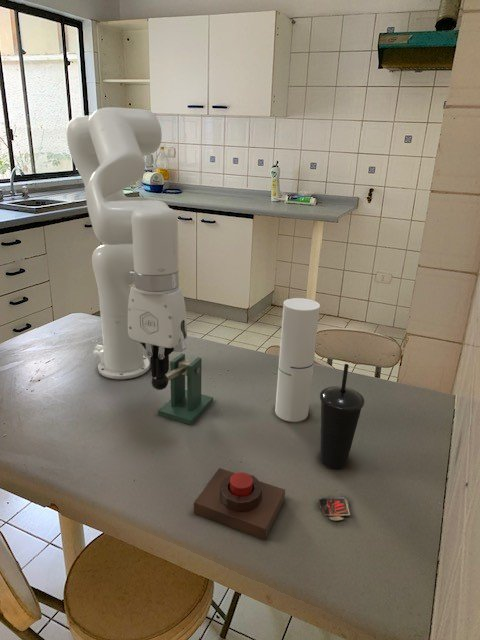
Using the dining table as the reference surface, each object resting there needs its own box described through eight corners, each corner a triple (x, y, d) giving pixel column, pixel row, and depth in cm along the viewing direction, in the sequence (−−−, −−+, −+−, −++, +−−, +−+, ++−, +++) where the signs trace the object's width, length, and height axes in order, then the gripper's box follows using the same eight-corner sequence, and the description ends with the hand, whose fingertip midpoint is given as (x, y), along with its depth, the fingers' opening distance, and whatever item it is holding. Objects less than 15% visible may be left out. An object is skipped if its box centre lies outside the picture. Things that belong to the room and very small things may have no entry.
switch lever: (161, 393, 86) (162, 377, 85) (147, 389, 87) (148, 373, 86) (195, 374, 98) (196, 360, 97) (182, 371, 99) (183, 356, 98)
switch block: (193, 513, 73) (193, 493, 71) (219, 477, 80) (219, 459, 79) (265, 540, 68) (266, 519, 67) (284, 500, 76) (286, 480, 75)
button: (225, 492, 72) (226, 483, 71) (235, 478, 75) (235, 469, 75) (247, 500, 71) (247, 491, 70) (255, 485, 74) (256, 476, 73)
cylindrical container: (306, 423, 96) (319, 312, 87) (273, 418, 98) (281, 308, 88) (309, 405, 103) (320, 300, 94) (277, 401, 104) (285, 296, 95)
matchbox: (315, 501, 76) (315, 498, 76) (343, 496, 77) (344, 493, 77) (327, 522, 72) (328, 520, 72) (357, 517, 73) (357, 514, 73)
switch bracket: (191, 425, 95) (190, 374, 90) (157, 415, 97) (156, 365, 93) (213, 401, 103) (214, 354, 99) (182, 393, 106) (181, 346, 102)
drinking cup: (327, 479, 81) (340, 379, 74) (304, 453, 88) (315, 358, 80) (363, 468, 84) (379, 371, 77) (338, 444, 90) (351, 352, 83)
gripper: (107, 279, 80) (114, 374, 86) (183, 292, 74) (184, 392, 81) (133, 269, 86) (138, 358, 93) (205, 281, 81) (204, 374, 87)
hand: (160, 374), depth 87 cm, fingers closed
